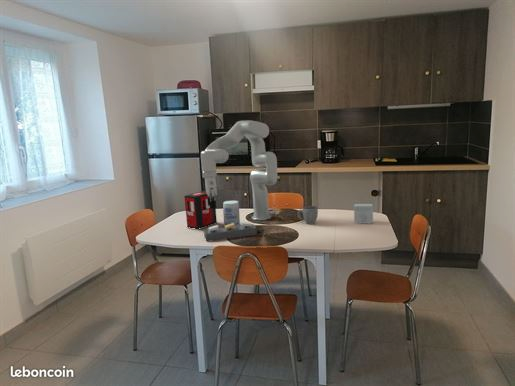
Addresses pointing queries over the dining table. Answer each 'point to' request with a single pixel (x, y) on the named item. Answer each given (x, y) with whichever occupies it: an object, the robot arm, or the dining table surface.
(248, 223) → the rocker
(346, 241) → the dining table surface
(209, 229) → the rocker
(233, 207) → the supplement tub
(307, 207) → the mug
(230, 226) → the rocker middle
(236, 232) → the power strip
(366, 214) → the skincare box
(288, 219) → the dining table surface
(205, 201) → the cleaning product box
